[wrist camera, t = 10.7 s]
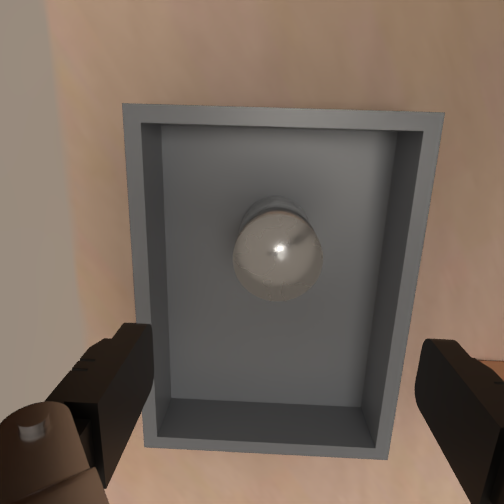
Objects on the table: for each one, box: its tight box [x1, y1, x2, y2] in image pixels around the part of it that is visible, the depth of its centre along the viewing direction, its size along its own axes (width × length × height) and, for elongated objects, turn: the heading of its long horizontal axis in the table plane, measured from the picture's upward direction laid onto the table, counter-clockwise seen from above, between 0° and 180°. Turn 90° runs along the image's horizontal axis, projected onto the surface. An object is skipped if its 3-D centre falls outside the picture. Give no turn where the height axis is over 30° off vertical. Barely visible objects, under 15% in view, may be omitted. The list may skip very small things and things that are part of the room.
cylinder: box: [233, 196, 323, 301], centre depth 24 cm, size 5×5×7 cm
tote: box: [122, 103, 445, 460], centre depth 27 cm, size 24×18×5 cm
